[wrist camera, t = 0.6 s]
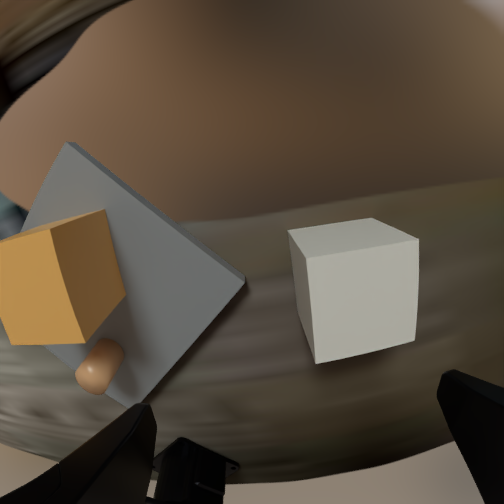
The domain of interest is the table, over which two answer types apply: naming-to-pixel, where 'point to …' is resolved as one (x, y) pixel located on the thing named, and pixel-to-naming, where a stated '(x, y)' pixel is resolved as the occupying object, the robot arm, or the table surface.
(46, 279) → the matte amber box
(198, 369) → the table surface
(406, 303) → the matte ivory cube
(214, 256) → the plate
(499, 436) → the robot arm
